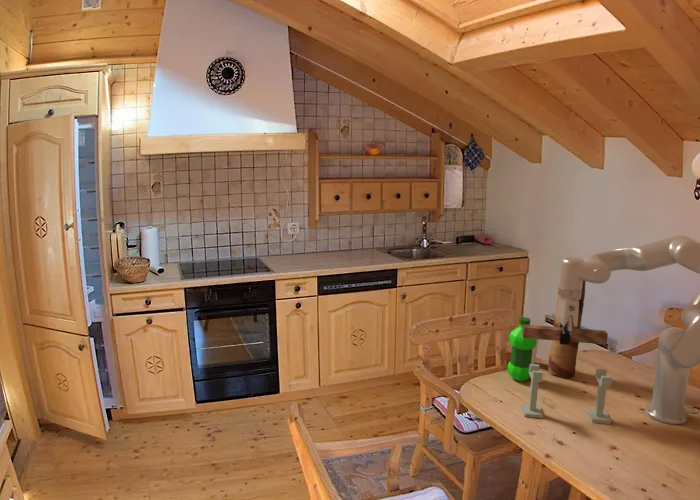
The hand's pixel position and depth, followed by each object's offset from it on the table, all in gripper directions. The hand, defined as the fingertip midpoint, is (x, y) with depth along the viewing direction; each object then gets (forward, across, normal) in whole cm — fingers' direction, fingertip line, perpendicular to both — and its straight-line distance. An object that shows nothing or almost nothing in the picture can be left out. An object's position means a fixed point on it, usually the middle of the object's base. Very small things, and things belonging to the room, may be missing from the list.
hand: (563, 341), depth 185 cm
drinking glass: (+23, +31, +4) cm, 39 cm away
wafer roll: (+23, +24, -8) cm, 34 cm away
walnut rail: (-1, 0, 0) cm, 1 cm away
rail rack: (+23, -10, -1) cm, 25 cm away
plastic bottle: (+23, +16, +10) cm, 30 cm away
